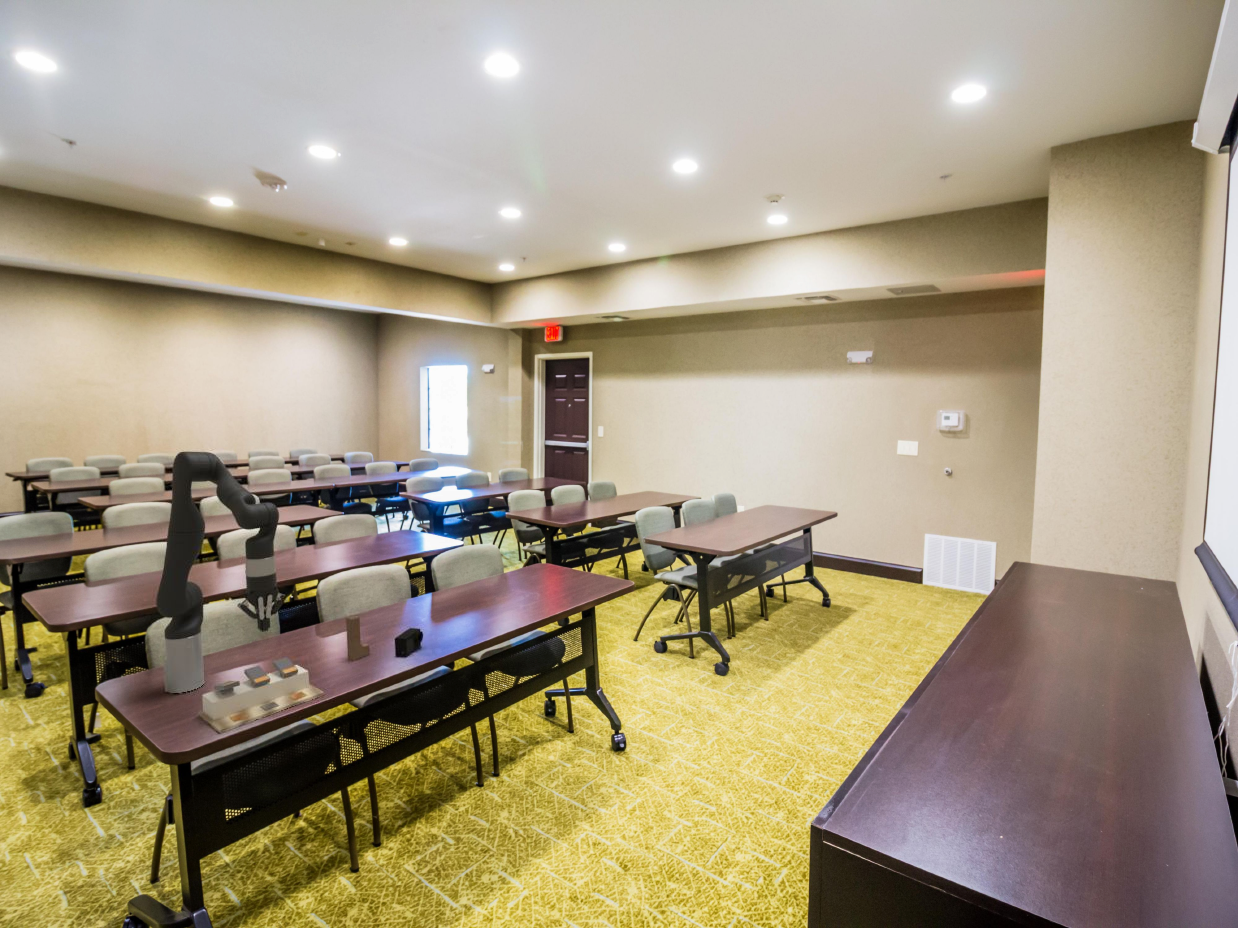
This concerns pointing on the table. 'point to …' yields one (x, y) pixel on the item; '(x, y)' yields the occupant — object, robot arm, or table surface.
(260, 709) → the chart board
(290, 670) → the switch right
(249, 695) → the switch box
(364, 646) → the wooden block
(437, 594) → the table surface
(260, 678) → the switch middle
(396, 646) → the digital camera
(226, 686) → the switch left
